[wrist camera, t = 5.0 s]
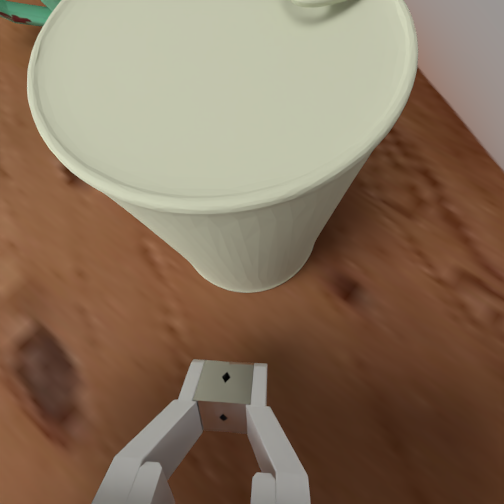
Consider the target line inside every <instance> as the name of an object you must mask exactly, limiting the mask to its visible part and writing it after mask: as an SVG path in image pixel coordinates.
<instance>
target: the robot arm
mask: <svg viewBox="0 0 504 504" xmlns="http://www.w3.org/2000/svg"><path fill="white" fill-rule="evenodd" d="M202 430H203V431H222V432H232V433H241V434H248V438H249V441H250V443H251V446H252V449H253V451H254V454H255V456H256V459H257V462H258V464H259V467H260V469H261V472H262V473H259V472H257V473H256V474H255V475H254V476H253V478H252V491H251V504H311V503H310V492H309V482H308V475H307V473H306V472H305V470H304V468H303V466H302V464H301V462H300V461H299V459H298V457H297V455H296V453H295V451H294V450H293V448H292V446H291V444H290V442H289V440H288V439H287V437H286V435H285V433H284V431H283V429H282V428H281V426H280V424H279V422H278V420H277V418H276V417H275V415H274V413H273V411H272V409H271V408H270V407H268V406H267V364H266V363H253V362H224V361H212V360H199V359H193V361H192V362H191V364H190V367H189V370H188V373H187V375H186V378H185V381H184V384H183V387H182V389H181V392H180V395H179V398H178V400H173V401H172V402H171V403H170V404H169V405H168V406H167V407H166V408H165V409H164V410H163V411H162V412H161V413H160V414H158V415H157V416H156V417H155V418H154V419H153V420H152V421H151V422H150V423H149V424H148V425H147V426H146V427H145V428H144V429H143V430H142V431H141V432H140V433H139V434H138V435H137V436H136V437H135V438H133V439H132V440H131V441H130V442H129V443H128V444H127V445H126V446H125V447H124V448H123V449H122V450H121V451H120V452H119V453H118V454H117V455H116V456H115V457H114V459H113V461H112V463H111V465H110V467H109V469H108V471H107V473H106V475H105V477H104V479H103V481H102V483H101V485H100V487H99V489H98V491H97V494H96V496H95V498H94V500H93V502H92V504H175V500H174V497H173V494H172V492H171V489H170V487H169V484H168V482H167V480H168V479H169V478H170V476H171V475H172V474H173V472H174V471H175V469H176V468H177V467H178V465H179V464H180V463H181V461H182V460H183V459H184V457H185V456H186V454H187V453H188V452H189V450H190V449H191V448H192V446H193V445H194V444H195V442H196V441H197V439H198V438H199V437H200V435H201V434H202V433H203V431H202Z"/></svg>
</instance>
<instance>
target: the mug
mask: <svg viewBox="0 0 504 504" xmlns="http://www.w3.org/2000/svg"><path fill="white" fill-rule="evenodd" d="M41 1H42V2H43V3H44V4H45V5H46V6H47V7H42V6H35V5H28V4H22V3H16V2H10V1H6V0H0V16H1V17H3V18H6V19H8V20H10V21H12V22H14V23H19V24H27V25H35V26H44V24H45V22H46V21H47V19H48V17H49V16H50V14H51V13H52V12H53V10H54V9H55V8H56V6H57V5H58V4H59V3H60V2H61V1H62V0H41Z"/></svg>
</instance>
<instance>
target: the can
mask: <svg viewBox="0 0 504 504" xmlns="http://www.w3.org/2000/svg"><path fill="white" fill-rule="evenodd" d="M417 63H418V43H417V35H416V30H415V26H414V22H413V19H412V16H411V14H410V11H409V9H408V7H407V5H406V3H405V2H404V0H62V1H61V2H60V3H59V4H58V5H57V6H56V8H55V9H54V10H53V12H52V13H51V14H50V16H49V17H48V19H47V21H46V22H45V24H44V26H43V27H42V29H41V31H40V33H39V35H38V37H37V39H36V42H35V44H34V47H33V50H32V53H31V57H30V62H29V66H28V76H27V93H28V102H29V105H30V109H31V112H32V116H33V119H34V122H35V124H36V126H37V129H38V131H39V133H40V135H41V136H42V138H43V139H44V141H45V143H46V144H47V146H48V147H49V149H50V150H51V151H52V152H53V153H54V155H55V156H56V157H57V158H58V159H59V160H60V161H61V162H62V164H63V165H65V166H66V167H67V168H68V169H69V170H70V171H71V172H72V173H74V174H75V175H76V176H78V177H79V178H80V179H82V180H83V181H84V182H86V183H87V184H89V185H91V186H92V187H94V188H96V189H97V190H99V191H101V192H103V193H104V194H106V195H107V196H108V197H110V198H111V199H112V200H114V201H115V202H116V203H118V204H119V205H120V206H122V207H123V208H124V209H126V210H127V211H128V212H129V213H131V214H132V215H133V216H134V217H136V218H137V219H138V220H139V221H141V222H142V223H143V224H144V225H146V226H147V227H148V228H149V229H150V230H152V231H153V232H154V233H155V234H157V235H158V236H159V237H160V238H161V239H163V240H164V241H165V242H166V243H168V244H169V245H170V246H171V247H173V248H174V249H175V250H176V251H177V252H179V253H180V254H181V255H182V256H183V257H184V258H186V259H187V260H188V261H189V262H190V263H191V264H192V265H193V267H194V268H195V269H196V270H197V272H198V273H199V274H200V275H201V276H203V277H204V278H205V279H206V280H208V281H209V282H211V283H213V284H214V285H216V286H218V287H221V288H224V289H226V290H230V291H235V292H245V293H251V292H260V291H265V290H268V289H271V288H274V287H276V286H278V285H281V284H282V283H284V282H286V281H287V280H289V279H290V278H291V277H293V276H294V275H295V274H296V273H297V272H298V271H299V270H300V269H301V268H302V267H303V265H304V264H305V263H306V261H307V259H308V258H309V256H310V254H311V252H312V249H313V246H314V243H315V241H316V239H317V237H318V236H319V234H320V232H321V231H322V229H323V228H324V226H325V224H326V223H327V221H328V220H329V218H330V216H331V215H332V213H333V212H334V210H335V208H336V207H337V205H338V204H339V202H340V201H341V199H342V197H343V196H344V194H345V193H346V191H347V189H348V188H349V186H350V185H351V183H352V181H353V180H354V178H355V177H356V175H357V174H358V172H359V171H360V169H361V168H362V166H363V165H364V163H365V162H366V160H367V159H368V157H369V156H370V154H371V153H372V151H373V150H374V148H375V147H376V146H377V145H378V144H379V143H380V142H381V141H382V140H383V139H384V138H385V136H386V135H387V134H388V133H389V131H390V130H391V129H392V127H393V125H394V124H395V122H396V121H397V119H398V118H399V116H400V114H401V113H402V111H403V109H404V107H405V105H406V103H407V101H408V98H409V95H410V93H411V90H412V87H413V83H414V79H415V76H416V71H417Z"/></svg>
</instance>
